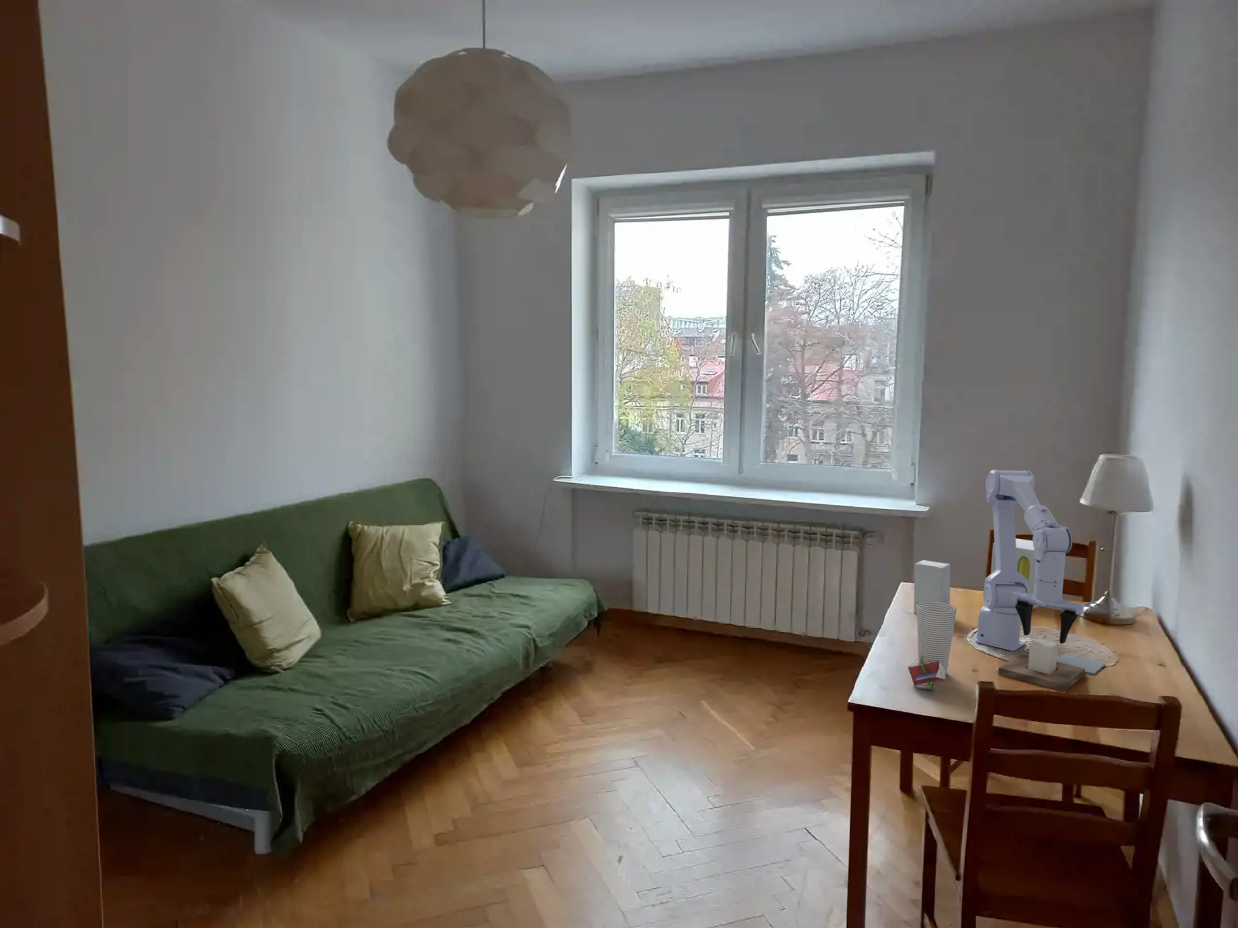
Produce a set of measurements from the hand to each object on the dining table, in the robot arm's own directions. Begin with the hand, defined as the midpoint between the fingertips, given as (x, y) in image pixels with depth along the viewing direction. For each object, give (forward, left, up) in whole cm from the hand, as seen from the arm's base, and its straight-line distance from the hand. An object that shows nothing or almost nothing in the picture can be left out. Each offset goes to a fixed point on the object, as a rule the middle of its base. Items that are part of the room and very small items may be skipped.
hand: (1044, 638), depth 192 cm
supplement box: (-26, +60, -9) cm, 66 cm away
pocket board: (0, 0, -8) cm, 8 cm away
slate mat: (+4, +13, -8) cm, 16 cm away
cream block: (0, 0, -9) cm, 9 cm away
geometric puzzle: (-15, -27, -9) cm, 32 cm away
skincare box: (-38, +26, -9) cm, 47 cm away
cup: (-18, -17, -9) cm, 26 cm away
